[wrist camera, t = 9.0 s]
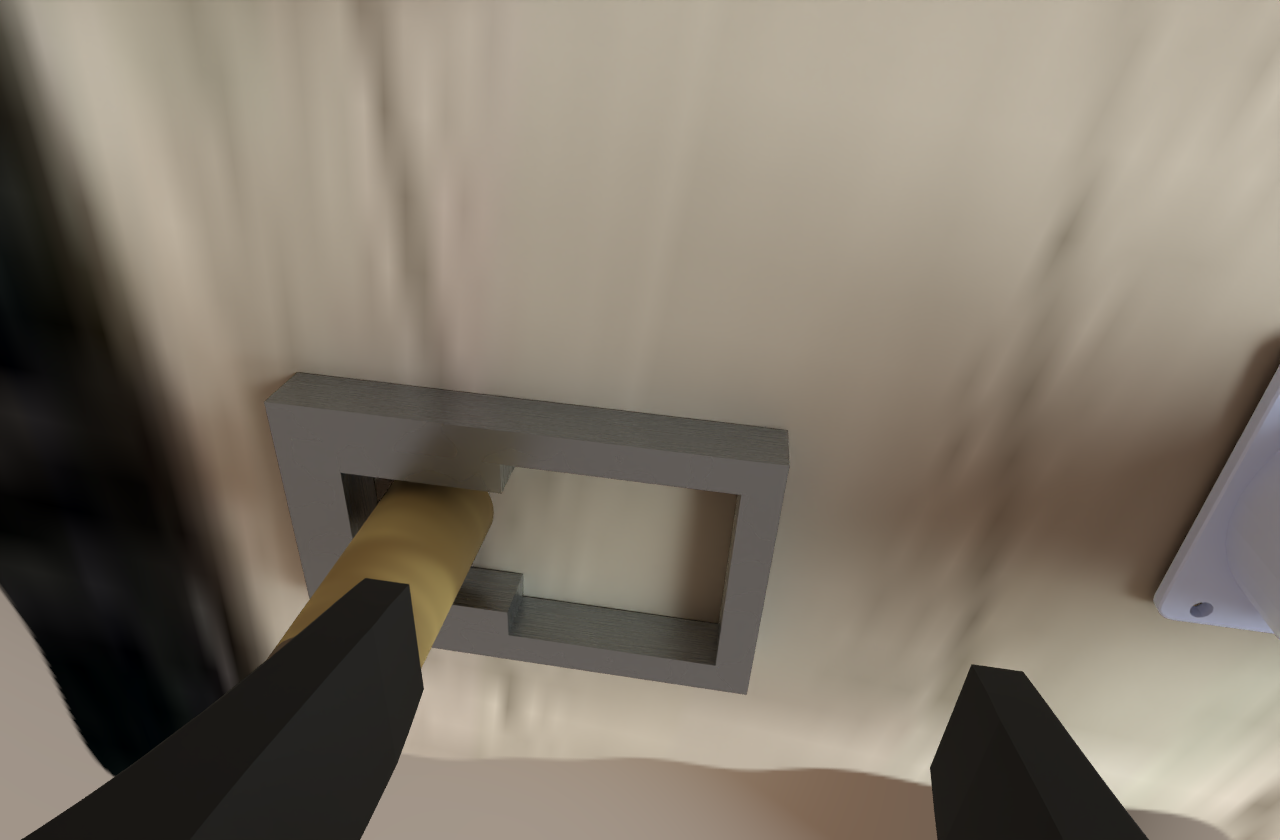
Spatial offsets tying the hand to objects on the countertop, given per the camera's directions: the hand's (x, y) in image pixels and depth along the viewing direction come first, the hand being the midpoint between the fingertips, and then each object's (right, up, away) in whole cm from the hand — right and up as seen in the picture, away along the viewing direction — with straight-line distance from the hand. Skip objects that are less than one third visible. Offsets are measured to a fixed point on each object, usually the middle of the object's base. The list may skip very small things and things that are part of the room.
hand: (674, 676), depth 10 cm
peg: (-6, +1, +12) cm, 14 cm away
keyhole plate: (-3, 0, +12) cm, 12 cm away
